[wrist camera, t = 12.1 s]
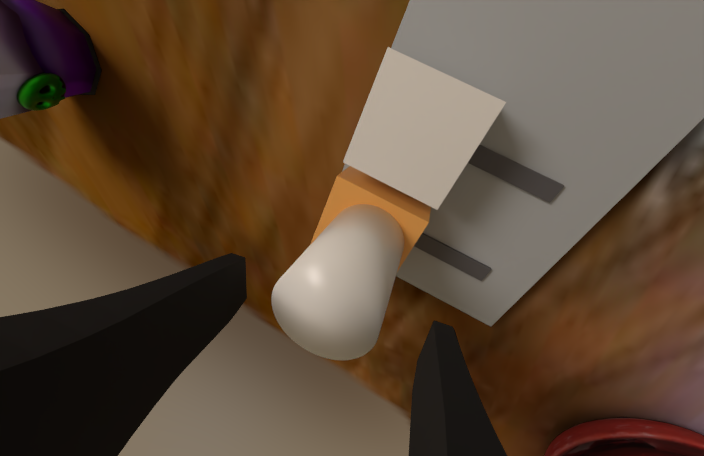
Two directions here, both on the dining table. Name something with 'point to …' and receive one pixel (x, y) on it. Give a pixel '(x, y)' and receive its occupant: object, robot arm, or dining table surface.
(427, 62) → the panel
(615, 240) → the dining table surface
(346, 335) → the cap
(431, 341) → the robot arm
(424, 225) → the block
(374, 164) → the block
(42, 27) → the potion bottle
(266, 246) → the dining table surface
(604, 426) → the plant pot
